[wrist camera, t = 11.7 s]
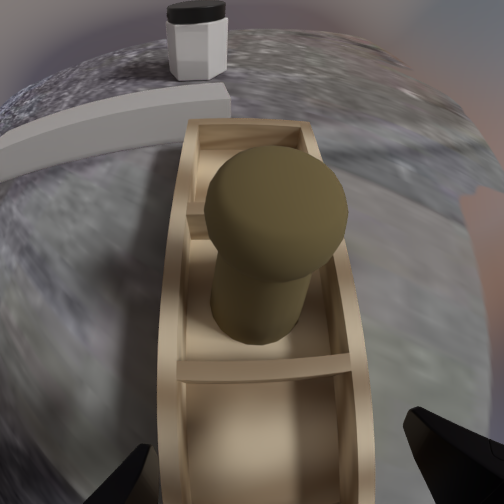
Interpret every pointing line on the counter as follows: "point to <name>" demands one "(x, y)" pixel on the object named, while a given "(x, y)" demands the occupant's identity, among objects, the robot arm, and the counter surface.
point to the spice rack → (257, 362)
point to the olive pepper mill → (270, 238)
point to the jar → (197, 39)
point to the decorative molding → (110, 127)
